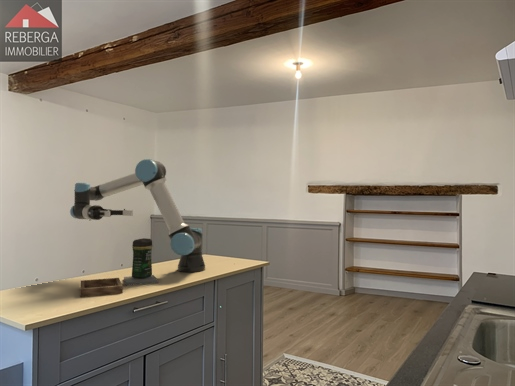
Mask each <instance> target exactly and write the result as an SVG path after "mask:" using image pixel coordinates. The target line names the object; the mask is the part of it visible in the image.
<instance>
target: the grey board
mask: <svg viewBox="0 0 515 386" xmlns="http://www.w3.org/2000/svg"><path fill="white" fill-rule="evenodd" d="M123 281H124V283H125V285H126V286H137V285H151V284H158V283H159V279H158V278H157V277H156V276H155V275H154V274H152V275H151V276H149V277H146V278H134V277H132V275H129V276H123Z"/></svg>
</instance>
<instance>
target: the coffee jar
mask: <svg viewBox="0 0 515 386" xmlns="http://www.w3.org/2000/svg"><path fill="white" fill-rule="evenodd" d="M131 247H132V265H131V266H132V268H131V269H132V270H131V276H132V277H134V278H146V277H149V276H151V275H153V266H152V250H153V240H152V239H151V238H147V237H146V238H138V239H134V240H133V241H132V245H131Z"/></svg>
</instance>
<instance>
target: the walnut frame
mask: <svg viewBox="0 0 515 386" xmlns="http://www.w3.org/2000/svg"><path fill="white" fill-rule="evenodd" d="M79 289H80V290H79V293H80V295H79V297H80V298H83V297H84V298H85V296H86V297H95V296H105V295H106V296H107V295H116V294H123V284H122V281H121V280H120V277H111V278H110V277H107V278H98V279H97V278H96V279H83V280H81V279H80V288H79Z"/></svg>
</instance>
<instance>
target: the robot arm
mask: <svg viewBox="0 0 515 386" xmlns="http://www.w3.org/2000/svg"><path fill="white" fill-rule="evenodd" d="M166 176H167V169H166V167H165V165H164V164H163V163H162V162H160V161H157V160H153V159H150V158H149V159H148V158H147V159H142V160H140V161H139V162H138V163H137V164H136V166H135V169H134V173H131V174H128V175H125V176H122V177H119V178H117V179H112V180H111V181H107V182H105V183H102V184H99V185H95V186H91V184H90V183H89V182H77V183H75V184H74V204H73V205H72V207H71V208H70V210H69V213H70V216H71V218H74V219H77V220H88V221H93V220H95V221H97V220H98V221H99V220H101V219H102V218H103V217H105V218H110V217H112V216H127V217H134V216H133V214H134V213H133V209H132V210H130V209H129V210H127V209H126V208H123V210H121V209H120V210H119V209H114V210H113V209H111V208H110V209H107V208H103V206H101V205H97V204H95V205H94V204H93V205H92V204H91V201H96V202H97V201H102V199H104V198H106V197H110V196H112V195H115V194H118V193H121V192H125V191H127V190H131V189H133V188H138V187H140V186H144V188H145V189H147V190H148V191H150V194H151V196H152V198H153V200H154V202H155V205H156V206H157V208H158V210H159V213H160V214H161V217H162V218H163V220H164V223H165V224H166V226H167V229H168V231H169V232H168V238H169V240H170V247H171V250H172V251H173V253H175V254H176V255H179V256H180V258H179V261H178V264H177V271H179V272H183V273H184V272H185V273H195V272H196V273H197V272H202V271H205V270H206V263H205V260H204V258H203V229H202V228H199V227H198V228H197V227H195V228H194V227H191V226H190V225H189V224H187V223H185V221H184V218H183V217H182V216H181V214H180V212H179V209H178V208H177V205H176V203H175V201H174V199H173V197H172V195H171V193H170V191H169V189H168V187H167V185H166V181H167V178H166Z"/></svg>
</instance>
